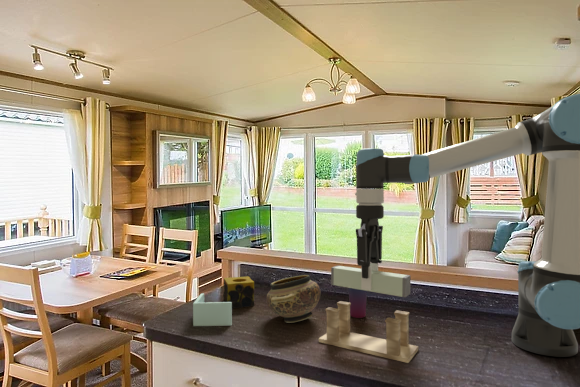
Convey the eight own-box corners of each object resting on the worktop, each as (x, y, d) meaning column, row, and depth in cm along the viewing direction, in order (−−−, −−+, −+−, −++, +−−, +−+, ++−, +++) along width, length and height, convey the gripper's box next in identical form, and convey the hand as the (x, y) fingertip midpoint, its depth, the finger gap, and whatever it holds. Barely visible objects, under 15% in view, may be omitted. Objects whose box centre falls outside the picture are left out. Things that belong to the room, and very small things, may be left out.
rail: (410, 294, 103) (410, 275, 103) (405, 297, 100) (405, 278, 100) (337, 281, 116) (337, 265, 116) (331, 284, 112) (331, 267, 112)
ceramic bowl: (303, 338, 110) (302, 286, 110) (250, 329, 118) (250, 280, 118) (332, 313, 132) (331, 270, 132) (286, 307, 140) (285, 266, 140)
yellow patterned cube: (223, 304, 145) (222, 277, 145) (249, 301, 148) (249, 275, 148) (226, 312, 135) (226, 283, 135) (254, 309, 138) (254, 281, 138)
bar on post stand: (418, 350, 101) (418, 313, 101) (408, 363, 94) (407, 323, 93) (333, 331, 115) (333, 299, 115) (318, 342, 107) (318, 307, 107)
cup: (368, 320, 125) (367, 274, 125) (347, 319, 126) (346, 273, 126) (368, 313, 131) (367, 270, 131) (348, 312, 133) (347, 269, 133)
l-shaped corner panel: (231, 326, 121) (231, 302, 121) (193, 327, 121) (193, 303, 121) (236, 314, 133) (235, 292, 133) (201, 315, 133) (201, 293, 133)
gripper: (369, 203, 116) (369, 280, 117) (343, 205, 102) (343, 292, 103) (393, 203, 112) (393, 283, 112) (369, 205, 98) (370, 296, 98)
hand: (369, 287), depth 107 cm, fingers closed on rail, 4 cm apart
